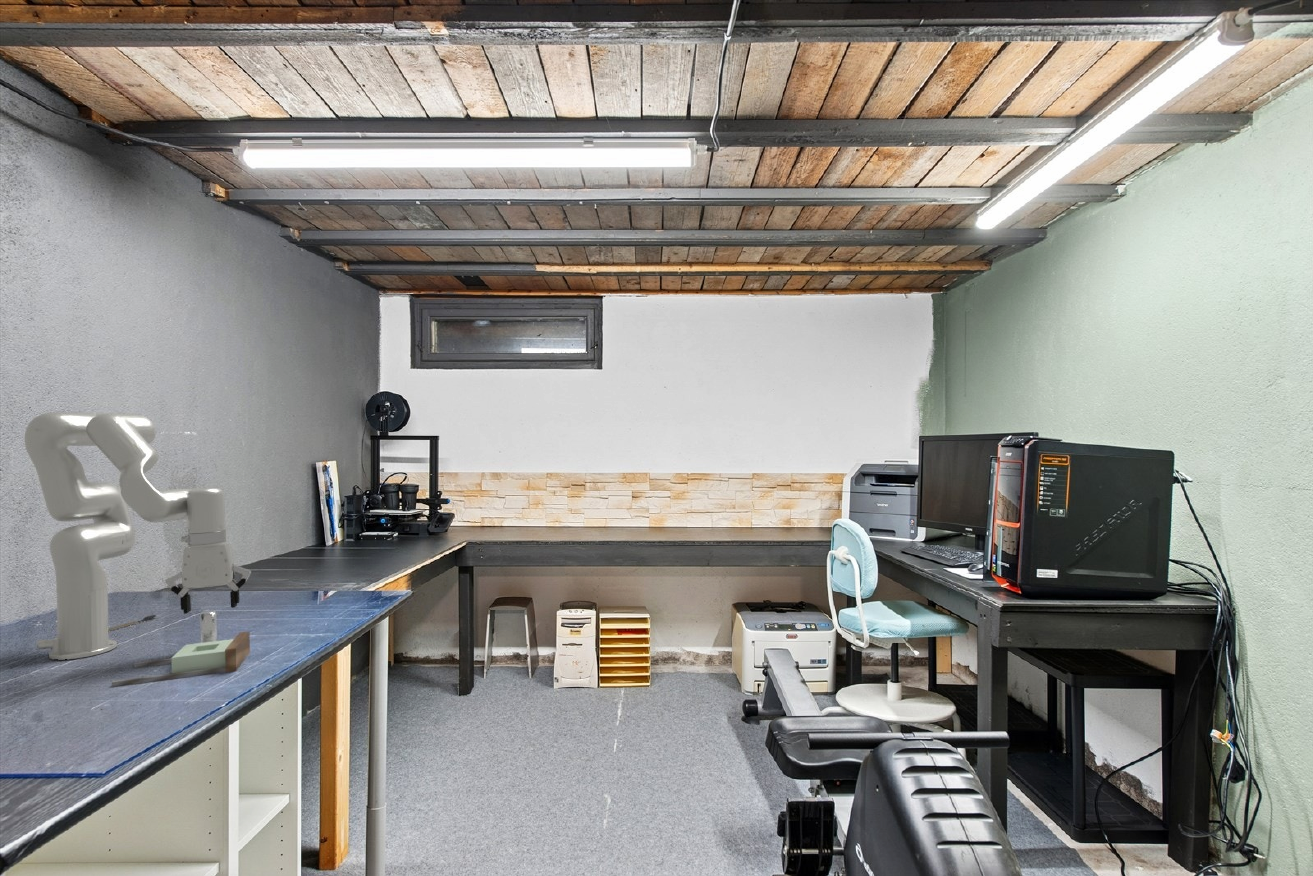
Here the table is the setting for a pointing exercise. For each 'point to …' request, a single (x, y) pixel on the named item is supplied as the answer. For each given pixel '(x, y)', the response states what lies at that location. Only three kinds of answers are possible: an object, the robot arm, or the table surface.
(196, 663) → the sliding block
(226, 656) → the rail board
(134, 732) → the table surface
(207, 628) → the grey round-ended peg
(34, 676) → the table surface
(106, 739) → the table surface
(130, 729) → the table surface
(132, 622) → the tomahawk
